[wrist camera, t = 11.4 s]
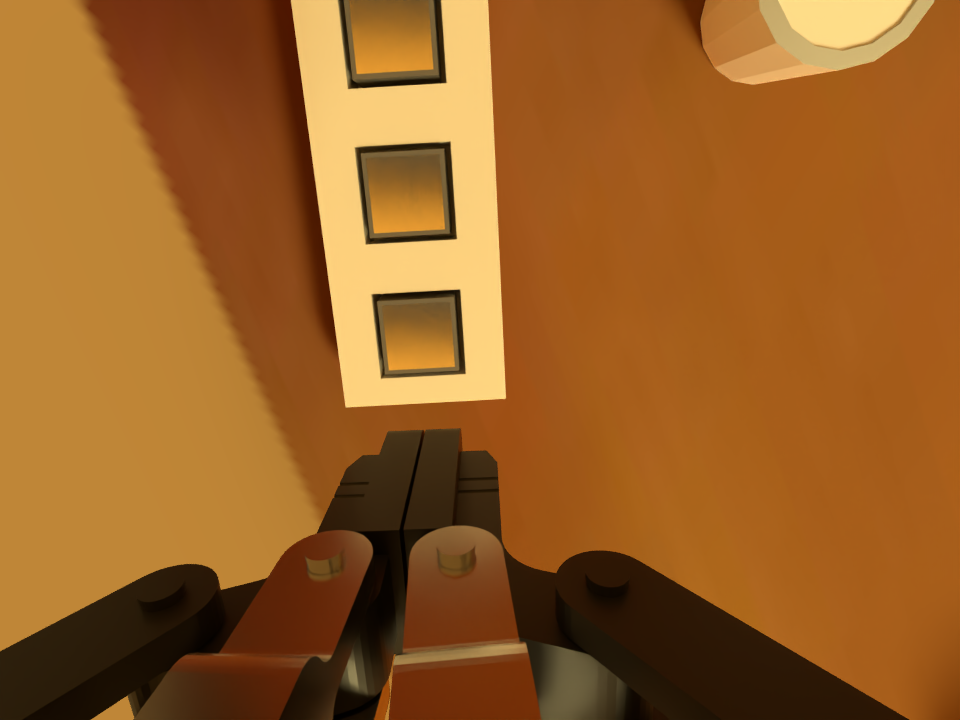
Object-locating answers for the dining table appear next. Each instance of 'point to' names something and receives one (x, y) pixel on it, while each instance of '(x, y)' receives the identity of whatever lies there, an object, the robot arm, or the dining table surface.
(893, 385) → the dining table surface
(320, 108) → the power strip
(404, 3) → the switch
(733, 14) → the white soft cylinder
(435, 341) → the switch
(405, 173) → the switch middle
